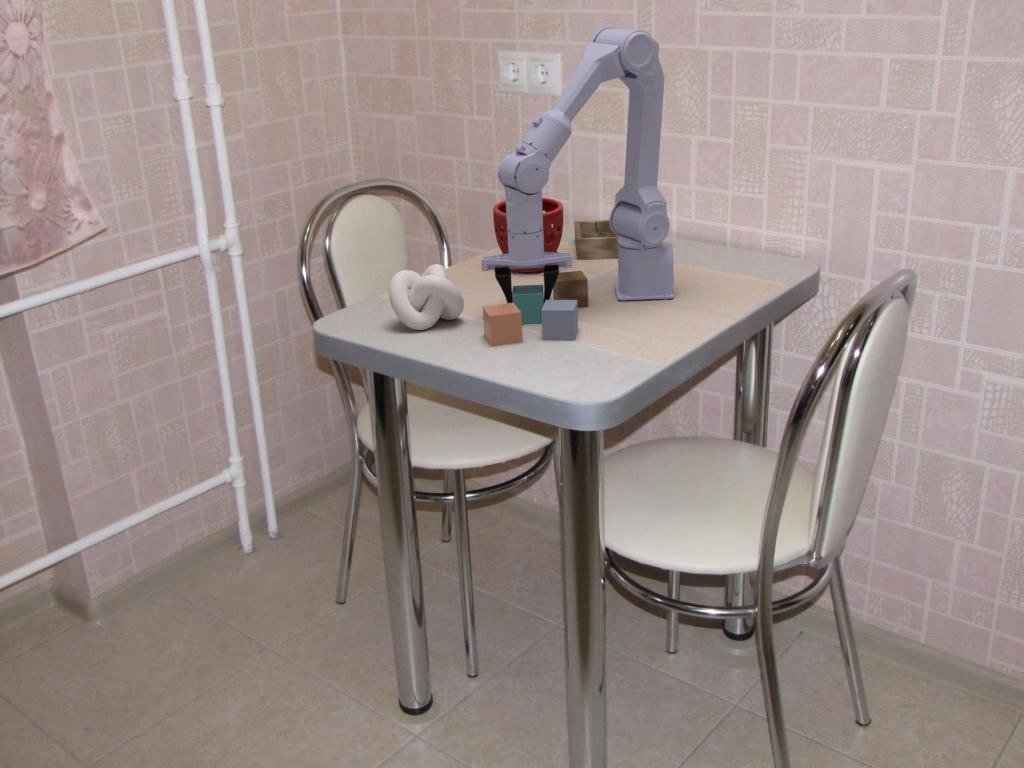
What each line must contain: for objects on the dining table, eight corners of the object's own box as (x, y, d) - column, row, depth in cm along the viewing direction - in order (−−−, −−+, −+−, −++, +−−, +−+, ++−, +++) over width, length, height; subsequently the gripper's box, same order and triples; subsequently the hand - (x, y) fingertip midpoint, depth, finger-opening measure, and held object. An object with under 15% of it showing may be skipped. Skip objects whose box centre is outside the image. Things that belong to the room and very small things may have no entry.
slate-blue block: (578, 329, 169) (577, 300, 167) (574, 341, 164) (573, 310, 162) (546, 329, 170) (545, 299, 168) (542, 340, 165) (541, 310, 163)
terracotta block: (514, 332, 169) (513, 302, 167) (522, 342, 165) (521, 312, 163) (484, 336, 168) (482, 306, 166) (491, 346, 164) (489, 316, 162)
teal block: (544, 313, 177) (543, 284, 175) (544, 323, 172) (543, 294, 170) (514, 314, 177) (512, 285, 175) (513, 324, 172) (512, 295, 170)
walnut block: (581, 298, 183) (581, 270, 181) (588, 307, 179) (587, 278, 177) (553, 301, 183) (552, 273, 181) (559, 310, 178) (558, 281, 176)
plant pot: (482, 267, 203) (478, 205, 198) (533, 253, 211) (531, 193, 206) (527, 281, 194) (524, 216, 189) (579, 265, 201) (577, 203, 197)
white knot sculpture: (478, 313, 178) (475, 262, 175) (447, 338, 168) (443, 284, 165) (418, 308, 182) (413, 258, 179) (384, 332, 172) (379, 279, 169)
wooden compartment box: (643, 237, 217) (643, 218, 215) (650, 257, 204) (650, 236, 202) (575, 240, 217) (574, 221, 216) (577, 259, 204) (576, 239, 203)
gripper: (570, 221, 172) (572, 301, 177) (480, 225, 173) (485, 304, 178) (571, 232, 166) (573, 315, 171) (478, 236, 166) (483, 318, 171)
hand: (528, 310), depth 174 cm, fingers closed on teal block, 5 cm apart
